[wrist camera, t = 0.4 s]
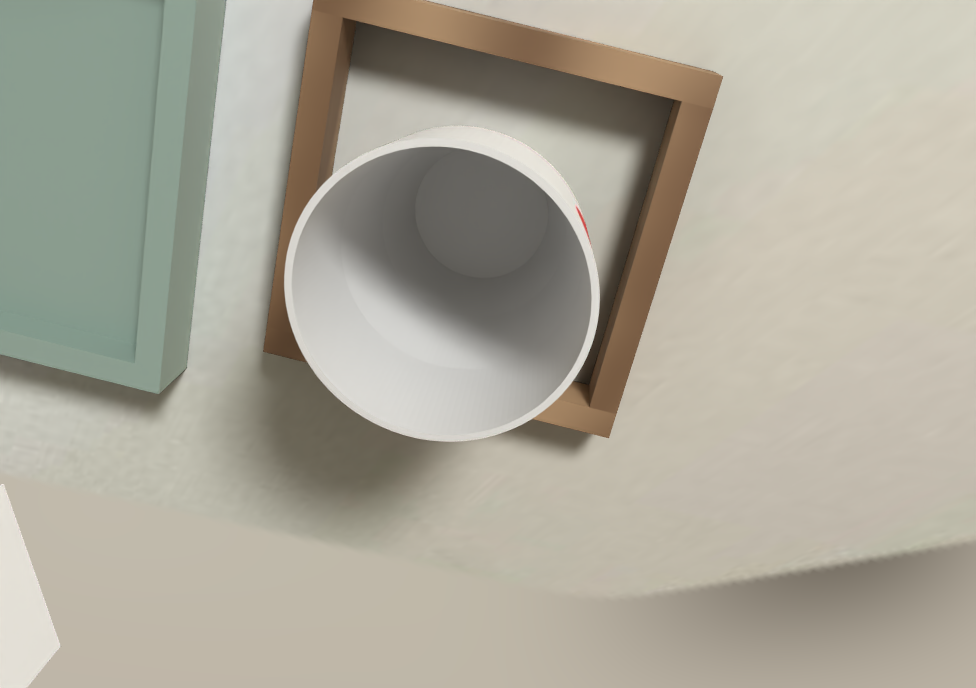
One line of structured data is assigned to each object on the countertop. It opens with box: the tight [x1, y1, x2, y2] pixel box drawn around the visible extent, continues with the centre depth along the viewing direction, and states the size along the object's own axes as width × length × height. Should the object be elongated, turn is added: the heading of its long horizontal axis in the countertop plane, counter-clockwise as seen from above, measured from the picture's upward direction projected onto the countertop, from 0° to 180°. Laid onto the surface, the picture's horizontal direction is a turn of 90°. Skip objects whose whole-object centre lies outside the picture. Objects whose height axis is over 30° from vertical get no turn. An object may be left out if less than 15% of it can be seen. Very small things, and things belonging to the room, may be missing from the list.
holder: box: [263, 0, 723, 438], centre depth 31 cm, size 13×13×2 cm
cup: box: [284, 126, 600, 442], centre depth 27 cm, size 8×8×10 cm
